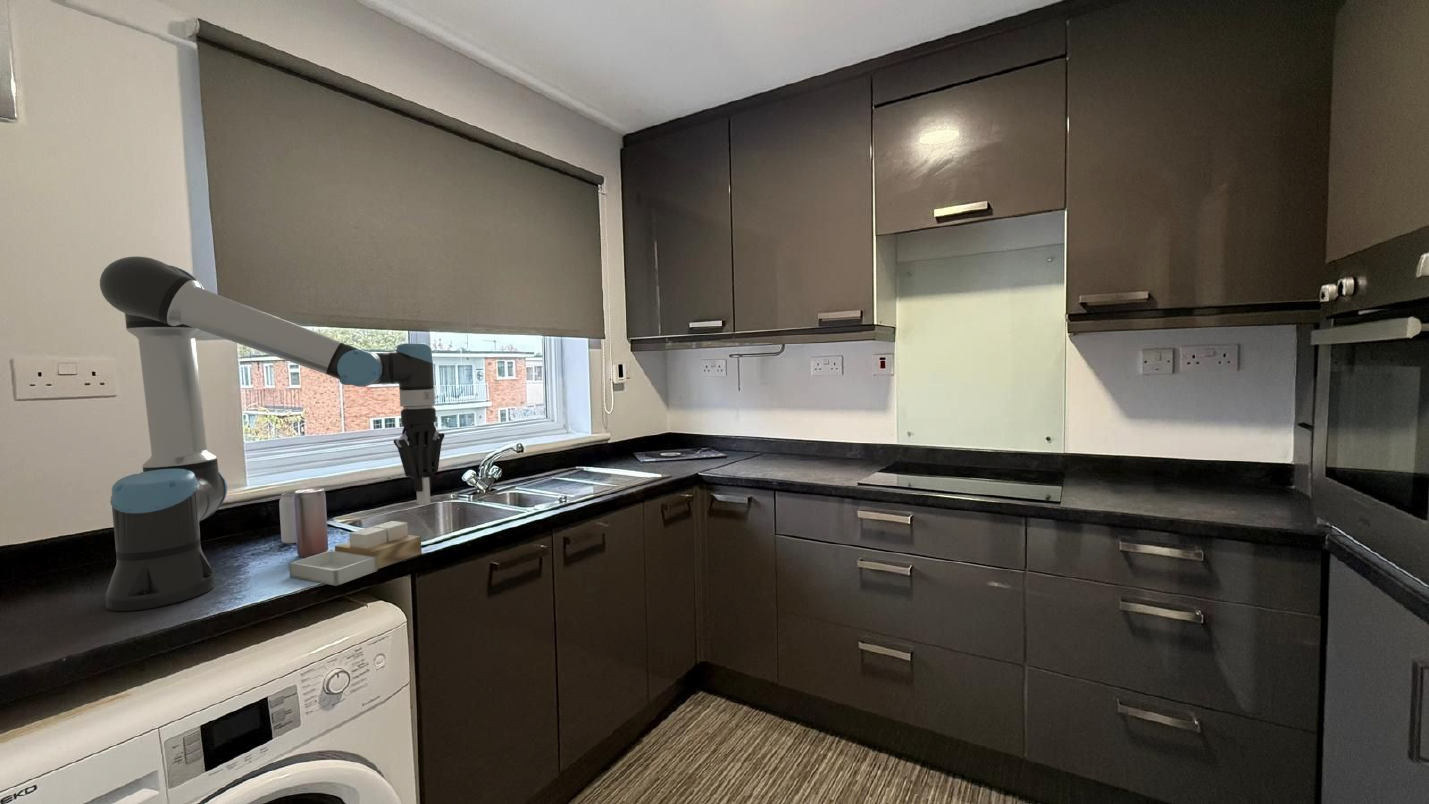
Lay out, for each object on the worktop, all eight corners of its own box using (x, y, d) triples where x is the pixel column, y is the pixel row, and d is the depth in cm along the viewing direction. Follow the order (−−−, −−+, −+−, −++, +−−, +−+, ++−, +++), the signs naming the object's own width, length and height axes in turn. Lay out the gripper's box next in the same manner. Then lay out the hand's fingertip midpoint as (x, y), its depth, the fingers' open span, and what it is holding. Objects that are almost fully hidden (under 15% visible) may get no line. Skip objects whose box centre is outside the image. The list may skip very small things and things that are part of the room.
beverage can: (291, 556, 134) (287, 492, 133) (317, 548, 140) (313, 487, 139) (308, 559, 132) (304, 493, 131) (334, 551, 137) (331, 488, 136)
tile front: (366, 548, 126) (365, 535, 126) (350, 546, 128) (349, 532, 128) (386, 542, 131) (386, 528, 130) (371, 540, 132) (370, 527, 132)
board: (374, 570, 124) (373, 551, 124) (335, 563, 128) (334, 546, 128) (421, 553, 135) (420, 536, 135) (384, 548, 140) (383, 531, 139)
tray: (336, 585, 115) (335, 571, 115) (289, 577, 120) (289, 562, 120) (377, 570, 124) (376, 557, 123) (332, 563, 129) (331, 550, 129)
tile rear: (388, 541, 131) (388, 528, 131) (373, 539, 133) (372, 526, 133) (407, 535, 136) (407, 522, 135) (392, 533, 138) (391, 520, 137)
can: (296, 545, 143) (293, 496, 142) (274, 543, 144) (272, 495, 144) (319, 537, 149) (316, 491, 149) (298, 536, 151) (295, 490, 150)
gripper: (406, 409, 133) (412, 511, 135) (451, 405, 145) (456, 498, 147) (382, 409, 136) (389, 509, 138) (428, 405, 148) (434, 496, 150)
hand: (423, 503), depth 142 cm, fingers closed
